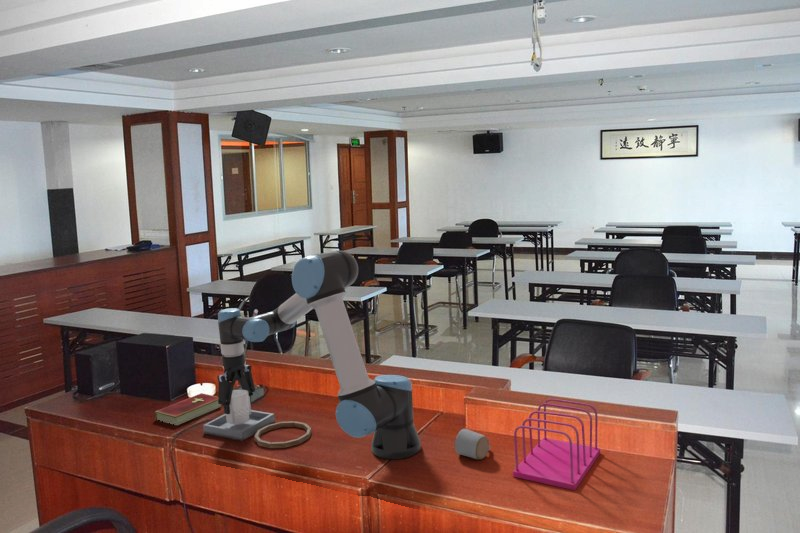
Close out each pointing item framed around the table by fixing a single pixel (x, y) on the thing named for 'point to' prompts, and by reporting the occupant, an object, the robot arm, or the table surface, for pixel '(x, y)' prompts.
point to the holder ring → (287, 443)
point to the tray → (239, 426)
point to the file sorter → (556, 452)
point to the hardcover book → (187, 409)
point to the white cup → (240, 406)
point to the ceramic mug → (471, 444)
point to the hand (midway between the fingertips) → (239, 417)
